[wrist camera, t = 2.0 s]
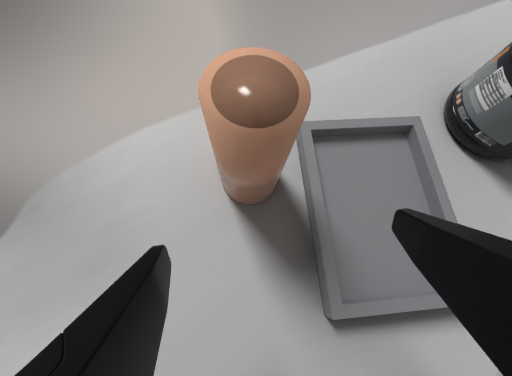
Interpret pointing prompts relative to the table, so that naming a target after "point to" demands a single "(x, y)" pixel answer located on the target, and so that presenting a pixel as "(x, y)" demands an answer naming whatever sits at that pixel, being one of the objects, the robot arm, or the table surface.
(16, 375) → the robot arm
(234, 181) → the terracotta cup
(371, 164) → the charcoal tray
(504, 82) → the supplement container
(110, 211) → the table surface
